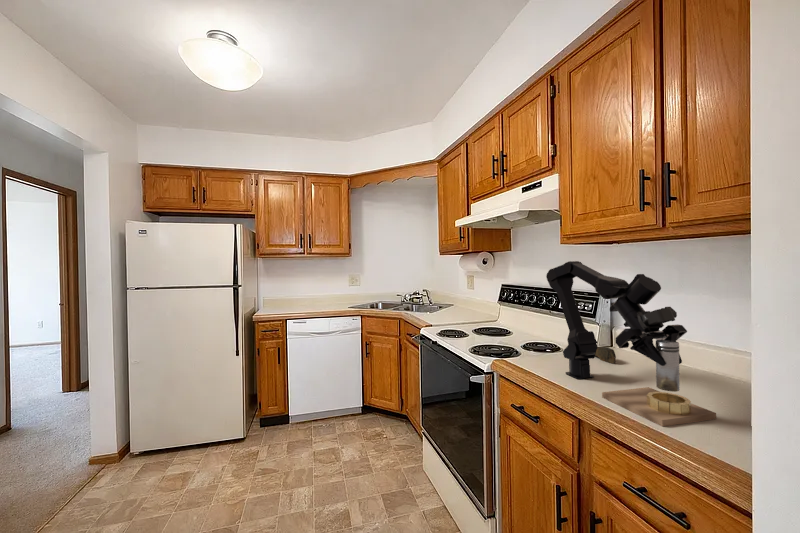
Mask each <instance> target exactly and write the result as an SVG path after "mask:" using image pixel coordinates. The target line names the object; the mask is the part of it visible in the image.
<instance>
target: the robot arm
mask: <svg viewBox="0 0 800 533" xmlns="http://www.w3.org/2000/svg"><path fill="white" fill-rule="evenodd" d="M545 277H546V280H547V283H548V284H549V287H550V288H551V289H552V291H554V292H555V293H556V294H557V297H558V300H559V303H560V306H561V309H562V312H563V315H564V319H565V322H566V325H567V327H568V335H567V346H566V347H565V348H564V349H563V351H562V353H563V358H564V359H568V364H569V366H568V368H569V371H566V372H565V374H566V375H568V376H570V377H572V378H574V379H576V380H580V379H581V380H583V379H590V378H591V379H592V378H595V377H594V375H593V374H591V365H590V360H591V359H592V360H594V359H595V357H596V356H595V354H596V350H597V347H598V345H597V344H598V341H597V339H596V335H595V333H594V331H592V330H590V331H589V330H588V329H587V328H586V327H585V324H584V322H583V319H582V316H581V313H580V310H579V308H578V305H577V302H576V298H575V296H574V293H573V290H572V289H573V285H574V279H575V278H578V279H580V280H581V281H582V282H583V281H584V282H585V283H587V284H589V285H591V286H592V287H594V290H595V292H596V293H597V294H598V295H599V296H600V297H601V298H603V299H605V300H615V299H616V300H615V301H614V302H611V303H610V306H609V312H611V313H612V312H618V313H619V315H620V316H621V318H622V319H623V321H624V323H623V326H624V327H625V328H624V329H623V330H622V331H621V332H620V333H619V334H618V335H617V336H615V344H616V345H617V347H618V348H619V349H627V348H628V349H630V350H632V351H635V352H637V353H639V354H641V355H643V356H644V357H646V358H648V359H650V360H652V361H654V362H655V364H656V363H658V364H660V365H661V366H664V365H666V363H665V361H664V359H663V357H662V356H661V355H660V353H659V352H658V350H657V349H656V345H655V344H654V340H655V341H656V340H670V341H676V342H678V340H679V339H680V338H681V337H683V336H684V335H686V334H687V333H688V330H687V329H686V328H685V326H684V325H682V324H667V325H666V326H665V323H669V322H674V321H676V318H677V316H678V314H677V311H676V310H675V309H674V308H672V307H671V306H665V307H661V308H658V309H655V310H646V311H645V309H644V308H643V307H642V305H643V306H645V305H647V304H648V303H649V302H651V300H653V298H654V297H655V296H656V295H658V293H659V292H661V289H662V286H661V284H660V283H659V282H658V281H656V280H655V279H653V278H651V277H649V276H646V275H645V274H644V273H638V274H636V275H635V276H634V277H633V279H632V281H630V282H629V283H628V281H626V280H625V279H622V278H618V277H616V276H615V277H614V276H607V275H604V274H603V273H601V272H599V271H597V270H594V269H593V268H591V267H589V266H587V265H585V264H584V263H583V262H581V261H579V260H574V261H573V260H572V261H571V260H570V261H566V262H565V263H563V264H561V265H559V266H556V267H553V268H549V269H548V271H547V272H546V275H545ZM664 326H665V327H664ZM663 327H664V328H663ZM662 328H663V329H662ZM660 329H661V330H660ZM629 342H631V345H632V346H630V343H629ZM629 346H630V348H629ZM681 364H683V360H682V358H681V355H680V353H679V365H681Z"/></svg>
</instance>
